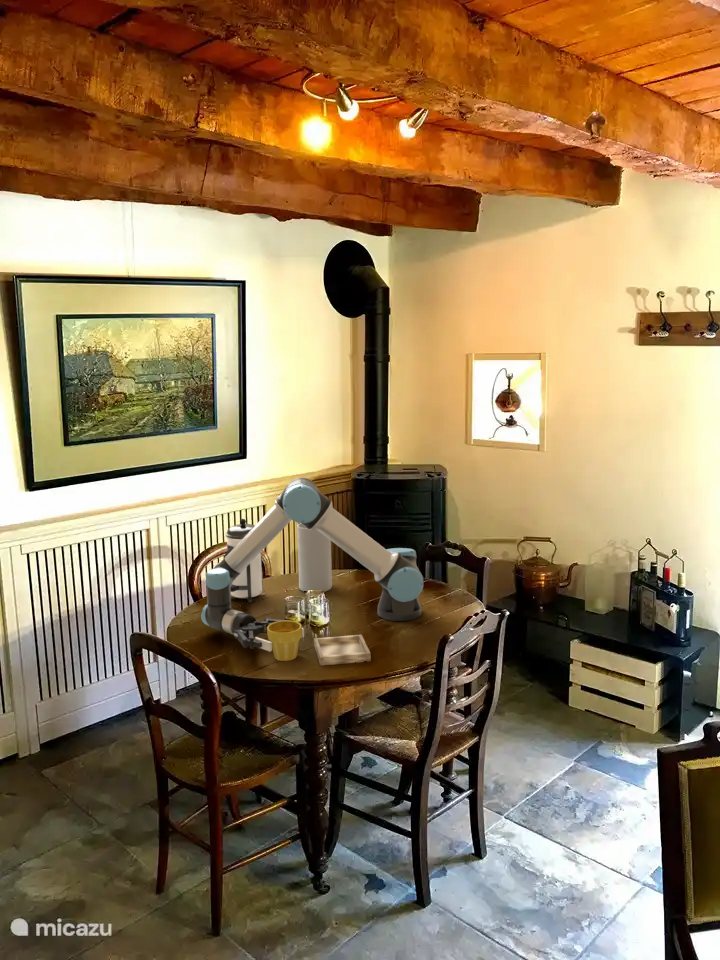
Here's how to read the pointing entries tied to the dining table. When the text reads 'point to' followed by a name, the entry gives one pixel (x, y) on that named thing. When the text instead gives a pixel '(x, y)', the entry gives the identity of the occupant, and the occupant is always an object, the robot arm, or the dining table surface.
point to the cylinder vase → (314, 560)
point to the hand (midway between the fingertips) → (287, 639)
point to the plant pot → (285, 639)
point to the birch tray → (341, 650)
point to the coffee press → (251, 576)
